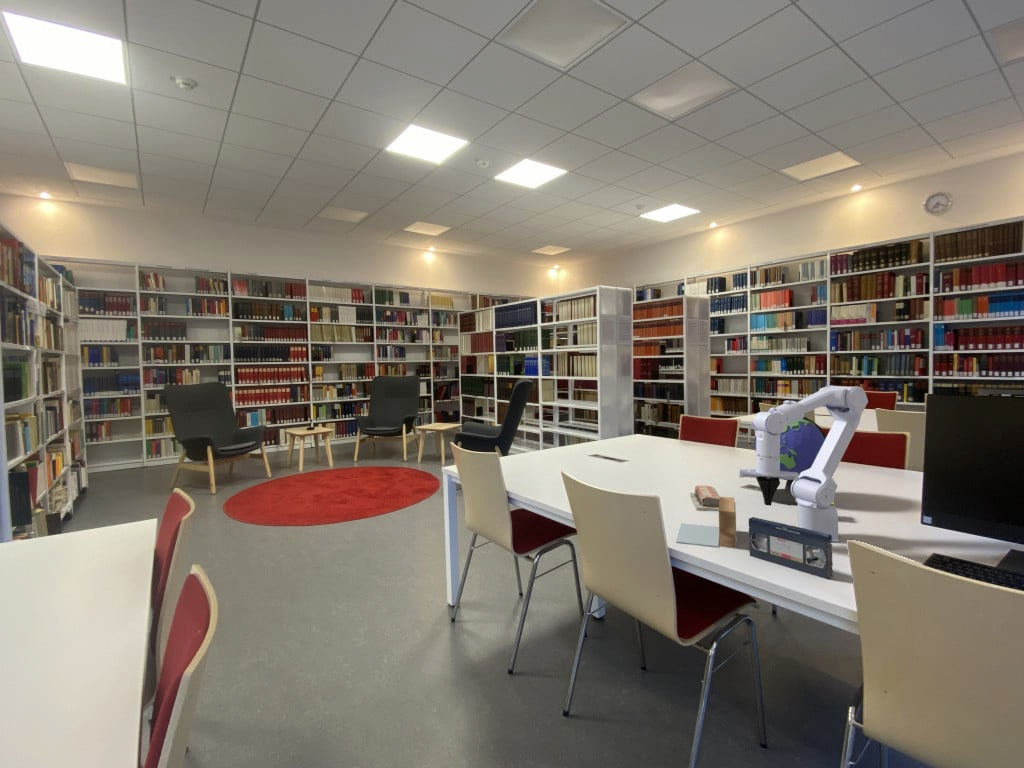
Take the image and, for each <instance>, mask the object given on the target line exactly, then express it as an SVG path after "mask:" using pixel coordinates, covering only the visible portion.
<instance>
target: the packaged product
mask: <svg viewBox="0 0 1024 768" xmlns="http://www.w3.org/2000/svg"><path fill="white" fill-rule="evenodd" d="M689 495H690V497H691V501H693V502H692V504H693V506H694V508H695V510H696V511H699V512H701V511H703V512H705V511H706V512H707V511H709V512H719V499H720V497H721V496H720V494H719V493H718V492H717V490H716V489H715V487H713V486H711V485H696V486H695V488H694V493H693V492H690V493H689Z"/></svg>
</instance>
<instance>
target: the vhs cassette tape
mask: <svg viewBox="0 0 1024 768" xmlns="http://www.w3.org/2000/svg"><path fill="white" fill-rule="evenodd" d="M832 542H833V541H832V535H830V534H825V533H822V532H818V531H813V530H808V529H804V528H800V527H798V526H796V525H790V524H786V523H782V522H778V521H774V520H773V521H772V520H768V519H763V518H759V517H755V516H752V517H749V518H748V545H749V547H748V548H749V557H752V558H755V559H757V560H762V561H765V562H769V563H771V564H776V565H779V566H783V567H785V568H789V569H792V570H795V571H798V572H801V573H806V574H808V575H812V576H815V577H819V578H822V579H825V580H829V579H831V578H832V577H833V574H834V573H833V572H834V571H833V565H834V563H833V544H832Z"/></svg>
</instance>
